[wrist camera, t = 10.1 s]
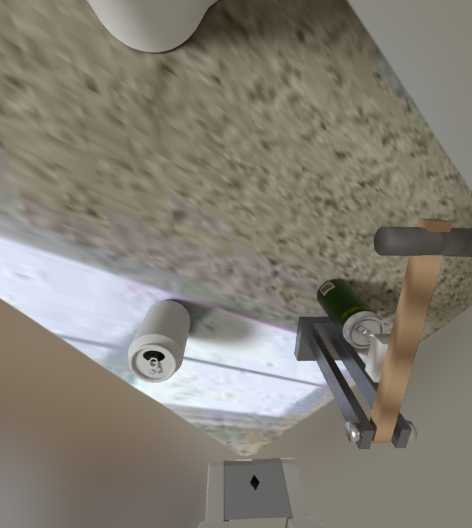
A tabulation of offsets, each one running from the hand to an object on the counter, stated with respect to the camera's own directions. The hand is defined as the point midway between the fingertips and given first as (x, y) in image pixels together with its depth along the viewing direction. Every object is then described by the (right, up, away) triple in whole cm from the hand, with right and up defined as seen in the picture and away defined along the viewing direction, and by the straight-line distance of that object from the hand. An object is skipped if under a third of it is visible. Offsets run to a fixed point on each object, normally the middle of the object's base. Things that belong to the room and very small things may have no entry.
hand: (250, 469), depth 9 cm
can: (-12, -2, +37) cm, 39 cm away
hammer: (+17, 0, +21) cm, 27 cm away
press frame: (+16, -6, +40) cm, 43 cm away
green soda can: (+16, +2, +37) cm, 40 cm away
